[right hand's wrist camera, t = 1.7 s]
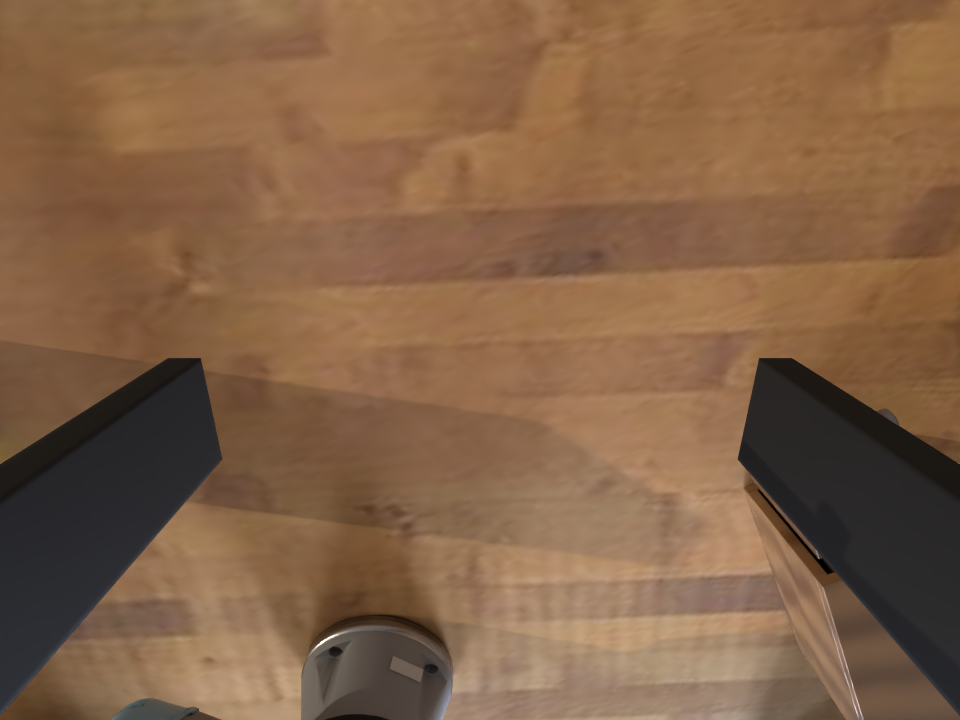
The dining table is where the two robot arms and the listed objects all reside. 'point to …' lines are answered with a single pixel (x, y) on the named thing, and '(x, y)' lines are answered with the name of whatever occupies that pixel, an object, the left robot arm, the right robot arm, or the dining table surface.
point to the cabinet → (843, 633)
